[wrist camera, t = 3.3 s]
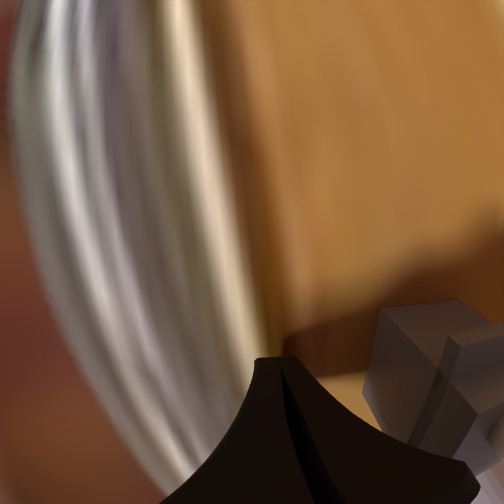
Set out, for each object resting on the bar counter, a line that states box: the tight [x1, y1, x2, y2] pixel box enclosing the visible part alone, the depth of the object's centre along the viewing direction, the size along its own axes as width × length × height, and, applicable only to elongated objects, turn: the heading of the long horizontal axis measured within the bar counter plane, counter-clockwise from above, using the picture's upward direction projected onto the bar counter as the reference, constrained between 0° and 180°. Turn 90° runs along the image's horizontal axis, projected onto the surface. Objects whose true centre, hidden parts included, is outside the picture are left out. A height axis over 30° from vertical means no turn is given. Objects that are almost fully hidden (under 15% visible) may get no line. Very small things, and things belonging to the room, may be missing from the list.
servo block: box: [362, 299, 504, 476], centre depth 7 cm, size 6×4×7 cm, turn 0°
